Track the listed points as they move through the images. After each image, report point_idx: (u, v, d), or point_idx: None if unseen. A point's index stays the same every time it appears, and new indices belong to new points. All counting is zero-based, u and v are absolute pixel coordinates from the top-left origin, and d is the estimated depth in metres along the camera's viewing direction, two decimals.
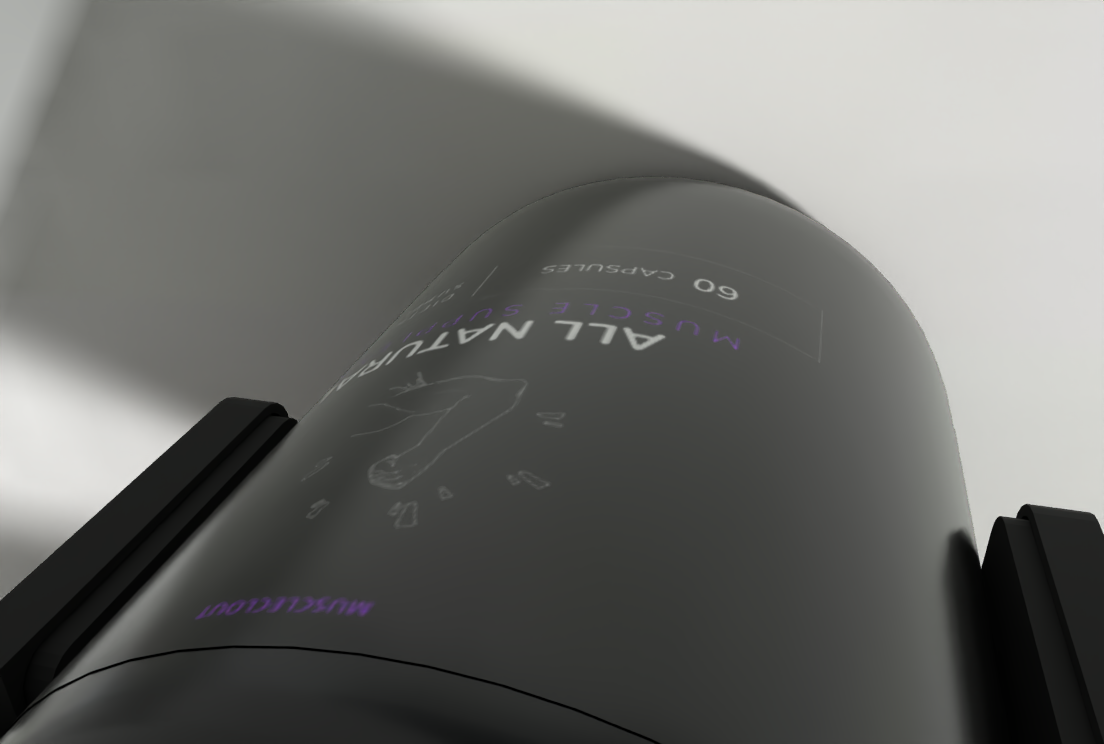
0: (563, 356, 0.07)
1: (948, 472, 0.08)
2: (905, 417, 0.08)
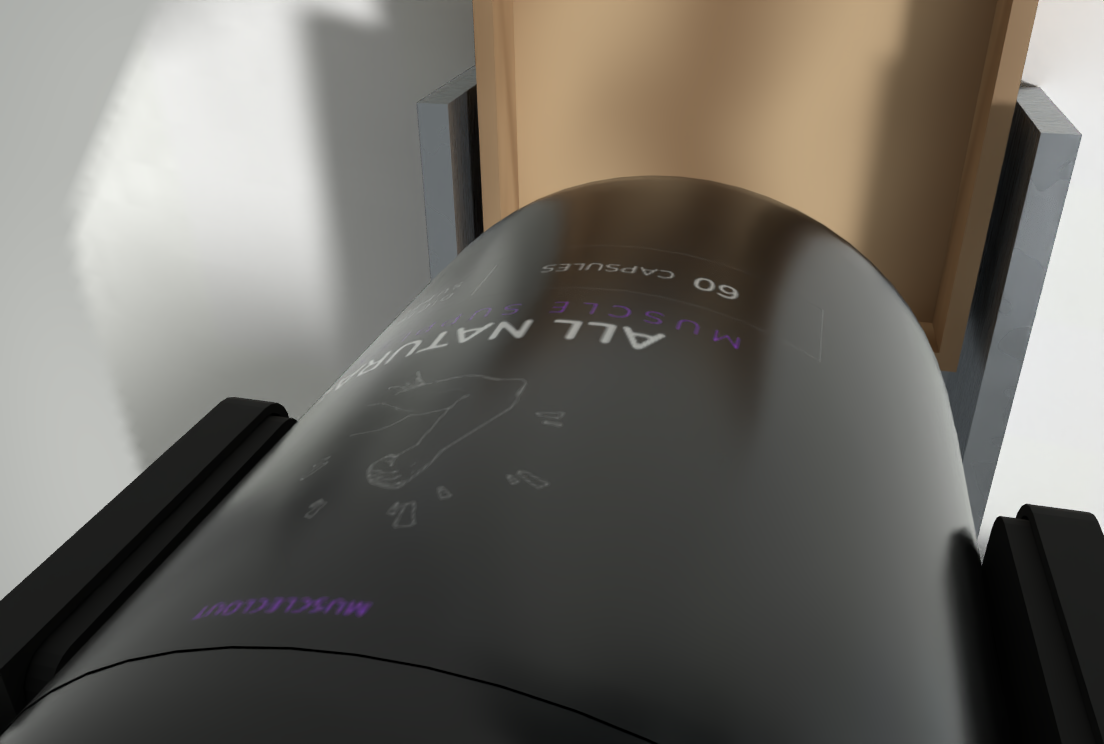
0: (562, 356, 0.07)
1: (949, 472, 0.08)
2: (906, 416, 0.08)
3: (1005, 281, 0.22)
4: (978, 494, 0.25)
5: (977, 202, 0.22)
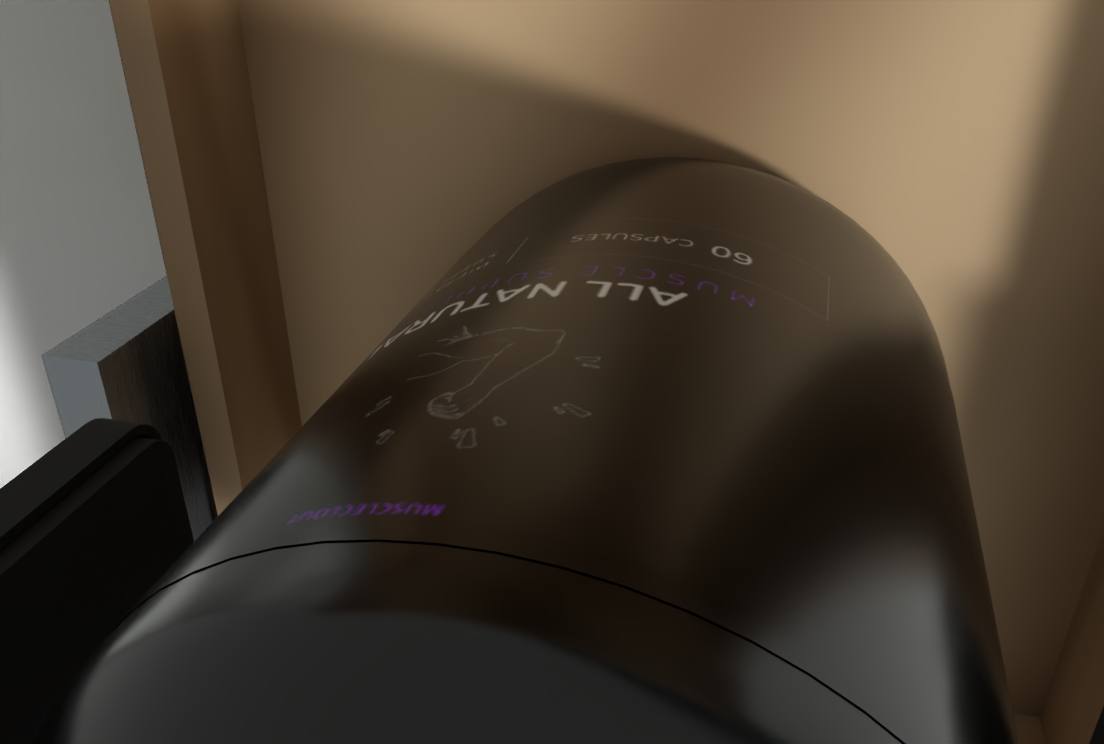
0: (597, 309, 0.07)
1: (945, 424, 0.09)
2: (905, 372, 0.08)
3: None
4: None
5: None
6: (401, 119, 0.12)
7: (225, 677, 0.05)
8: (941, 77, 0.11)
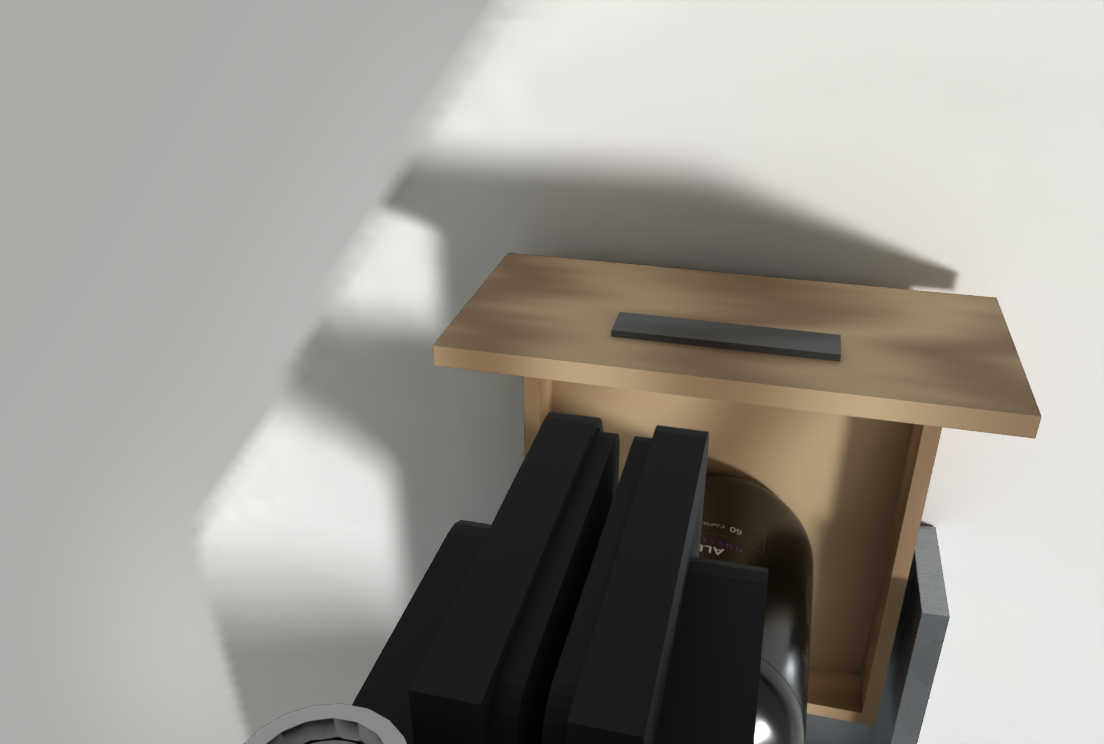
0: (700, 557, 0.28)
1: (799, 579, 0.29)
2: (786, 565, 0.29)
3: (902, 692, 0.31)
4: None
5: (885, 626, 0.31)
6: None
7: None
8: (806, 453, 0.31)
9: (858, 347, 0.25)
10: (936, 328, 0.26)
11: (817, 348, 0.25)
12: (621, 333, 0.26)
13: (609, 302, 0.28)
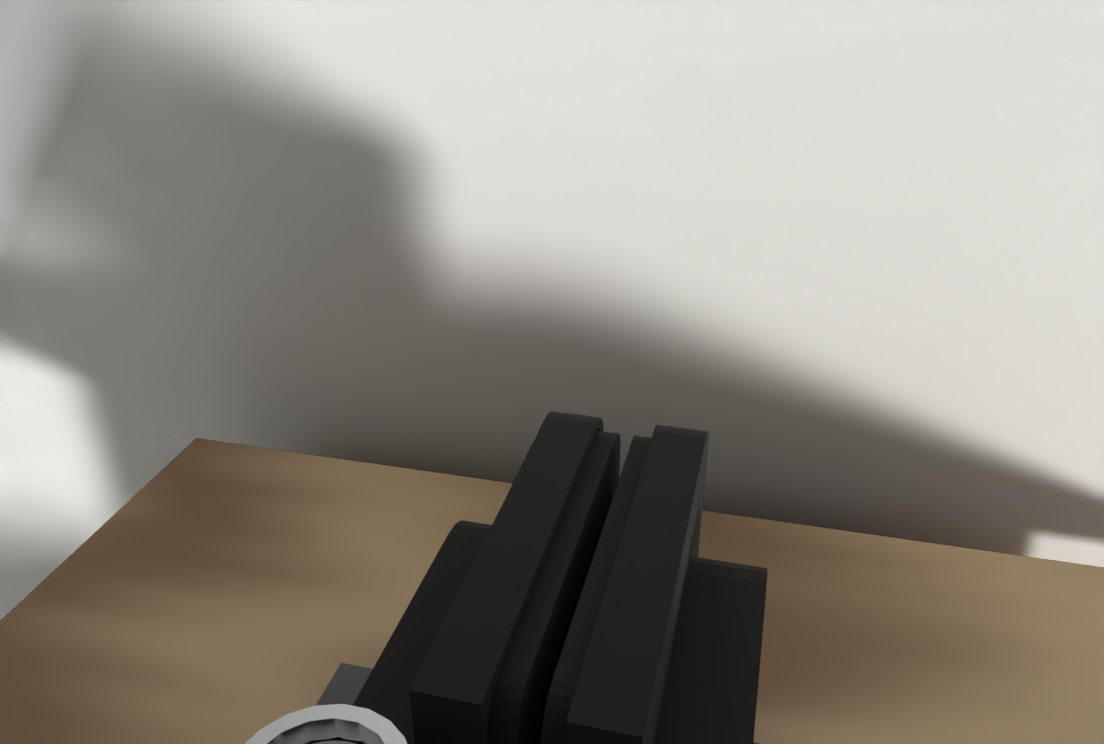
0: None
1: None
2: None
3: None
4: None
5: None
6: None
7: None
8: None
9: None
10: None
11: None
12: None
13: (343, 609, 0.12)
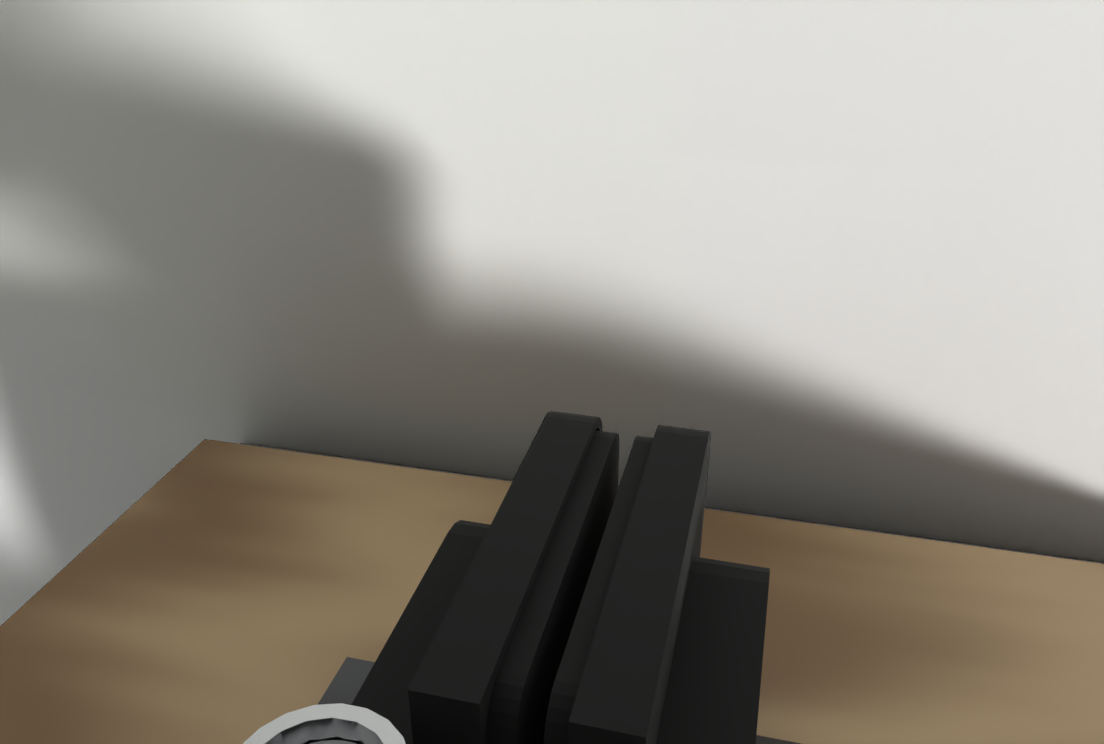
0: None
1: None
2: None
3: None
4: None
5: None
6: None
7: None
8: None
9: None
10: None
11: None
12: None
13: (348, 604, 0.12)
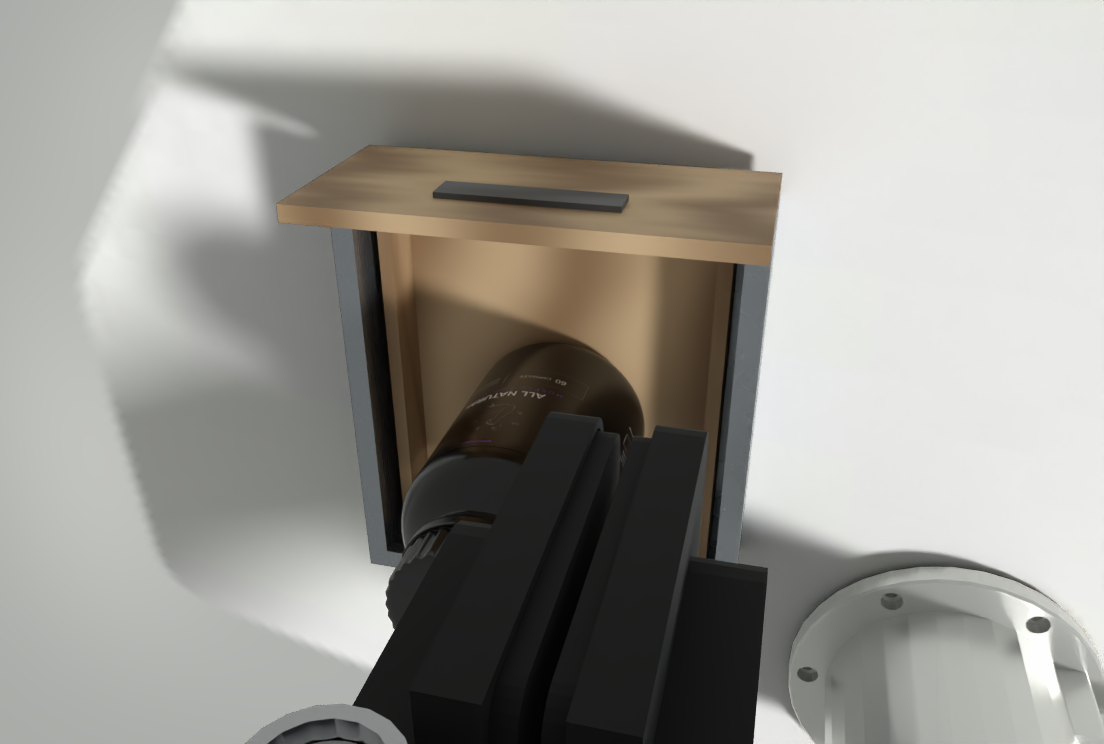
0: (522, 400, 0.32)
1: (617, 426, 0.33)
2: (604, 412, 0.33)
3: (737, 336, 0.31)
4: (738, 489, 0.34)
5: None
6: (467, 324, 0.37)
7: (457, 466, 0.29)
8: (632, 322, 0.35)
9: (642, 204, 0.29)
10: (717, 192, 0.30)
11: (604, 203, 0.29)
12: (441, 194, 0.30)
13: (442, 176, 0.32)
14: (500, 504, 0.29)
